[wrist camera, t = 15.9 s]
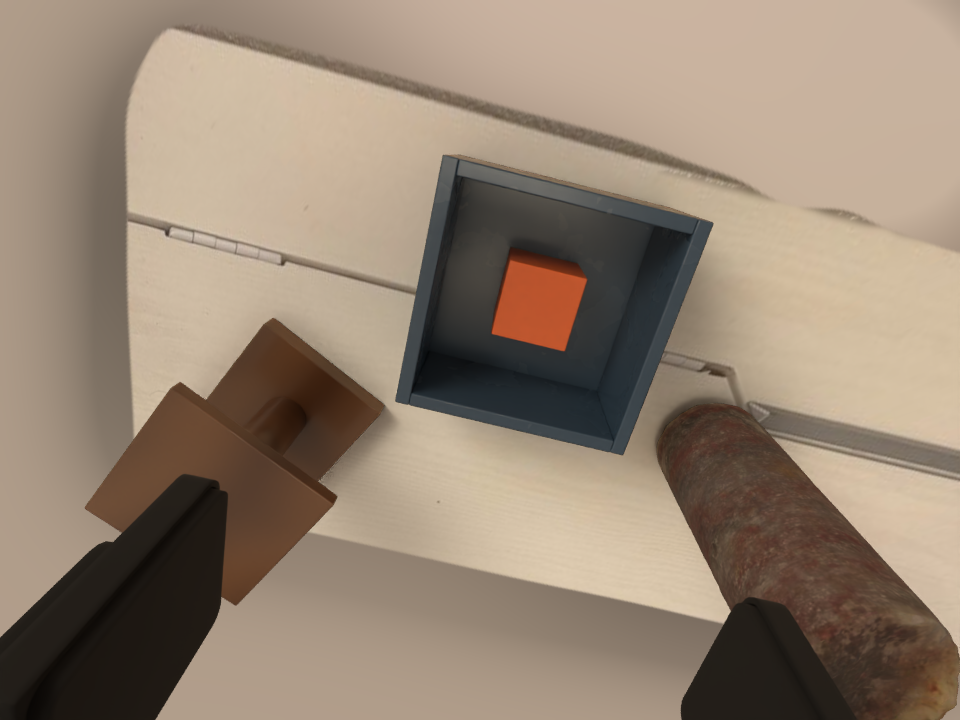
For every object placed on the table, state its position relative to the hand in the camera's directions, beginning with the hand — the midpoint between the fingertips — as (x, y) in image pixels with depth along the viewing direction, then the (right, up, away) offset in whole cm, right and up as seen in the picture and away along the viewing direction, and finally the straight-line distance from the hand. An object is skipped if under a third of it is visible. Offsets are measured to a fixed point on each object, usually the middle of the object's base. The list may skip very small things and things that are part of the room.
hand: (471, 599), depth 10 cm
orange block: (+4, +9, +25) cm, 27 cm away
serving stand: (-14, +1, +30) cm, 33 cm away
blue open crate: (+4, +9, +26) cm, 28 cm away
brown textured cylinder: (+17, -1, +29) cm, 34 cm away
